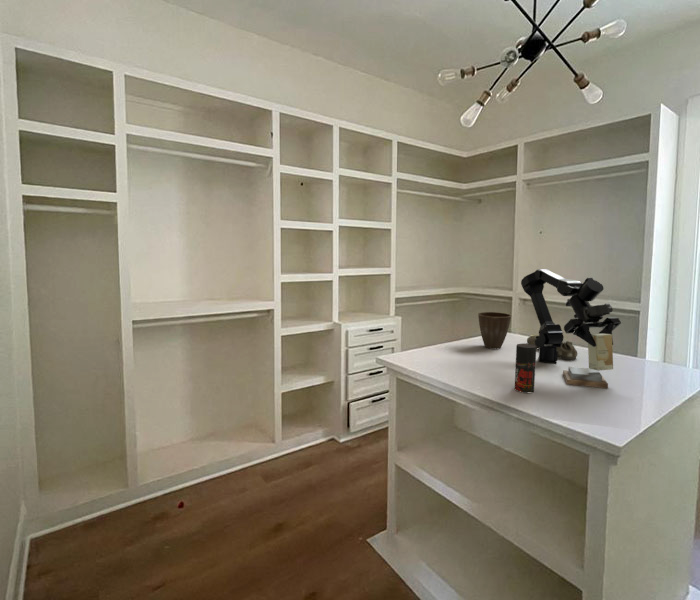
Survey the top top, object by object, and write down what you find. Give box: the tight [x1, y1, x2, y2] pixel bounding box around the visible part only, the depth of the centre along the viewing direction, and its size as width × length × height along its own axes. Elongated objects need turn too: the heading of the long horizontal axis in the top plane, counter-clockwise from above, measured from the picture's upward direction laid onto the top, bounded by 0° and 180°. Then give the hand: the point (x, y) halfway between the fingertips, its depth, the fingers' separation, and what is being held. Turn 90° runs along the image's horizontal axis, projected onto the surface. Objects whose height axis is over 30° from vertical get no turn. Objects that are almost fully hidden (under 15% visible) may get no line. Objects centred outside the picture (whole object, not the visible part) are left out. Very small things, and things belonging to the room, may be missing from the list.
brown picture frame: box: [562, 366, 609, 389], centre depth 140 cm, size 12×12×4 cm
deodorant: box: [514, 343, 537, 393], centre depth 130 cm, size 6×6×15 cm
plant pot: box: [477, 311, 512, 350], centre depth 190 cm, size 15×15×16 cm
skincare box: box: [587, 333, 614, 372], centre depth 137 cm, size 6×4×12 cm
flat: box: [526, 334, 578, 361], centre depth 183 cm, size 11×33×8 cm, turn 3°
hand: (603, 345), depth 135 cm, fingers closed on skincare box, 6 cm apart
